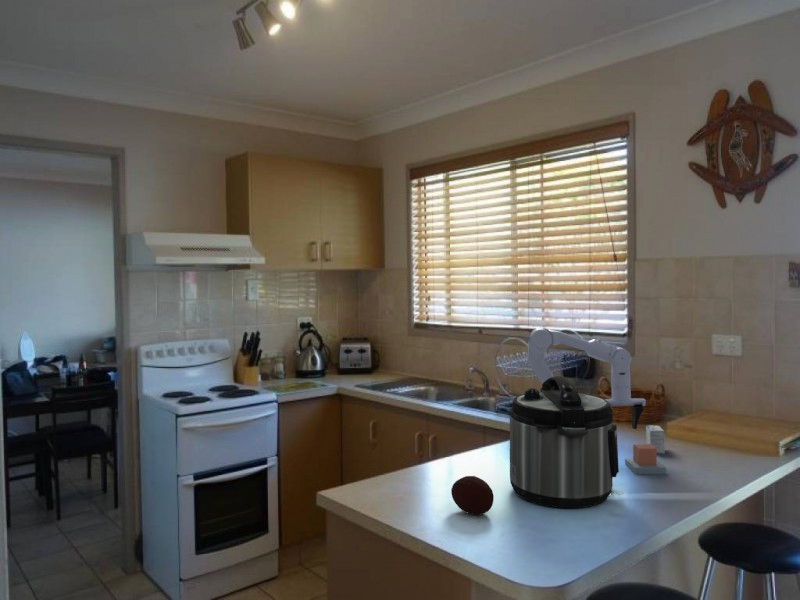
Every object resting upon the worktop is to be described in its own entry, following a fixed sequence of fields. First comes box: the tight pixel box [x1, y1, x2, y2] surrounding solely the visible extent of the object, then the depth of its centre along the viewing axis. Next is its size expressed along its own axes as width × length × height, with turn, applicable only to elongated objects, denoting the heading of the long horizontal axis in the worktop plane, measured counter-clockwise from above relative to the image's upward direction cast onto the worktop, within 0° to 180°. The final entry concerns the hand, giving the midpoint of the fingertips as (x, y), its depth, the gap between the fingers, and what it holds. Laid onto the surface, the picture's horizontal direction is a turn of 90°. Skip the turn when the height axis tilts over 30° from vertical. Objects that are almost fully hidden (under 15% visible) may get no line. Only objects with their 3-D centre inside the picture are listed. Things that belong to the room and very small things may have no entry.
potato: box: [450, 475, 495, 515], centre depth 158 cm, size 9×12×9 cm
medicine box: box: [645, 424, 666, 454], centre depth 208 cm, size 8×4×9 cm, turn 168°
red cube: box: [632, 443, 658, 466], centre depth 187 cm, size 5×5×5 cm
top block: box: [624, 458, 667, 475], centre depth 187 cm, size 9×9×2 cm
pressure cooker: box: [509, 375, 620, 509], centre depth 171 cm, size 30×28×32 cm
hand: (622, 428), depth 200 cm, fingers open, 7 cm apart
